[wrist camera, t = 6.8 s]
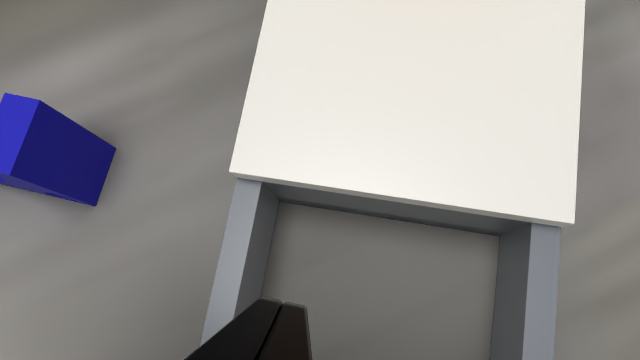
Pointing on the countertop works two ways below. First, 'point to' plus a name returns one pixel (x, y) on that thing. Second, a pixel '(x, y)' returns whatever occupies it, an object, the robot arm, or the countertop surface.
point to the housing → (515, 236)
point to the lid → (420, 103)
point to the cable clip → (50, 152)
